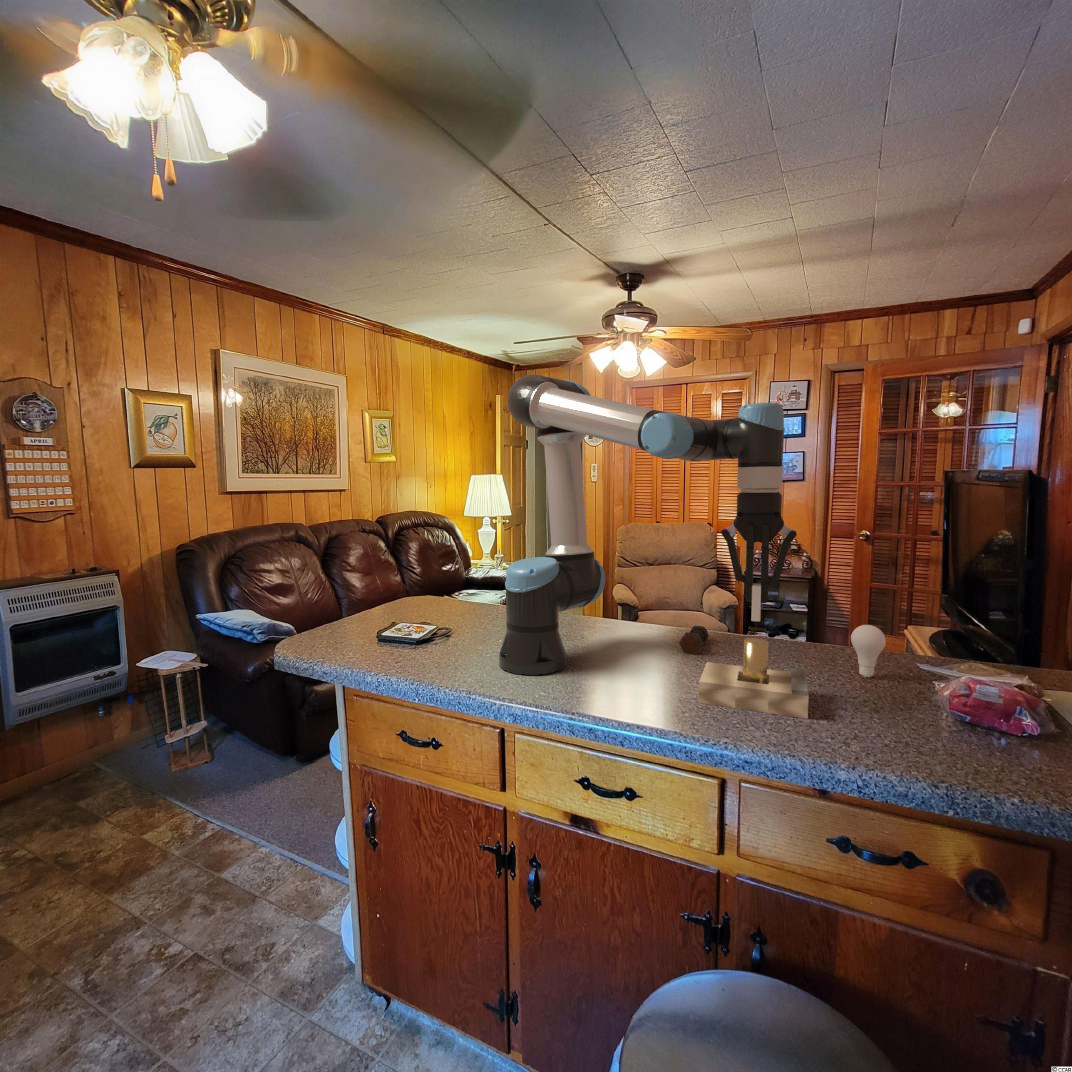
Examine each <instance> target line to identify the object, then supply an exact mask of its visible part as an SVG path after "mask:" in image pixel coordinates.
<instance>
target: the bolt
mask: <svg viewBox="0 0 1072 1072" xmlns="http://www.w3.org/2000/svg"><path fill="white" fill-rule="evenodd" d="M709 636H710V635H709V632H708V629H707V628H706V627H705V626H701V625H693V626H692V627H691V629H690V631H689V632H688V631H687V632H685V633H684V634H683V636H681V639H680V640H679V642H678V644H679V647H680V649H681V651H682V652H683V653H684V654H685V655H692V656H698V655H699V654H700V653H701V651H703V650H702V649H704V647H705V643H706V642H707V639H708V638H709Z"/></svg>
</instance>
